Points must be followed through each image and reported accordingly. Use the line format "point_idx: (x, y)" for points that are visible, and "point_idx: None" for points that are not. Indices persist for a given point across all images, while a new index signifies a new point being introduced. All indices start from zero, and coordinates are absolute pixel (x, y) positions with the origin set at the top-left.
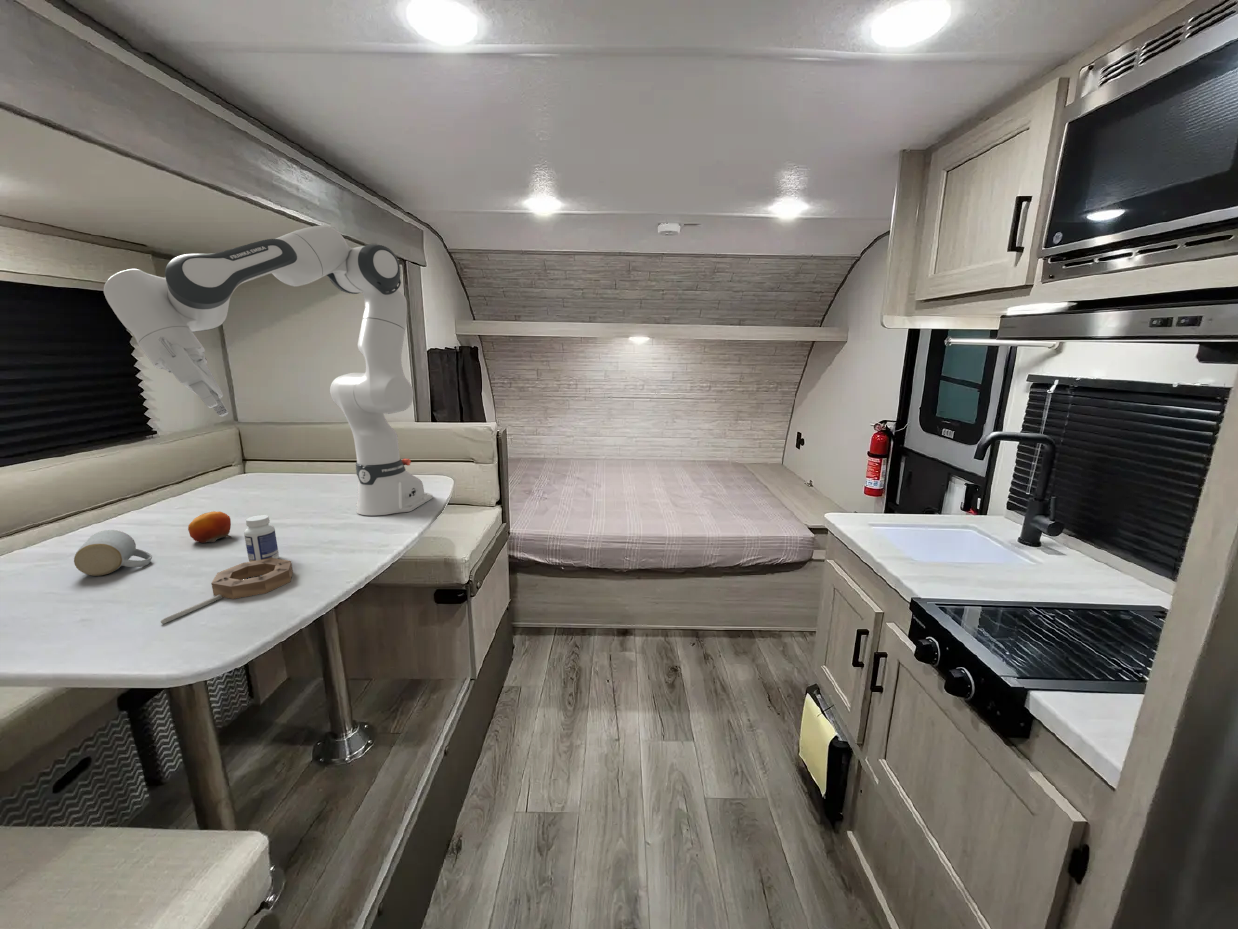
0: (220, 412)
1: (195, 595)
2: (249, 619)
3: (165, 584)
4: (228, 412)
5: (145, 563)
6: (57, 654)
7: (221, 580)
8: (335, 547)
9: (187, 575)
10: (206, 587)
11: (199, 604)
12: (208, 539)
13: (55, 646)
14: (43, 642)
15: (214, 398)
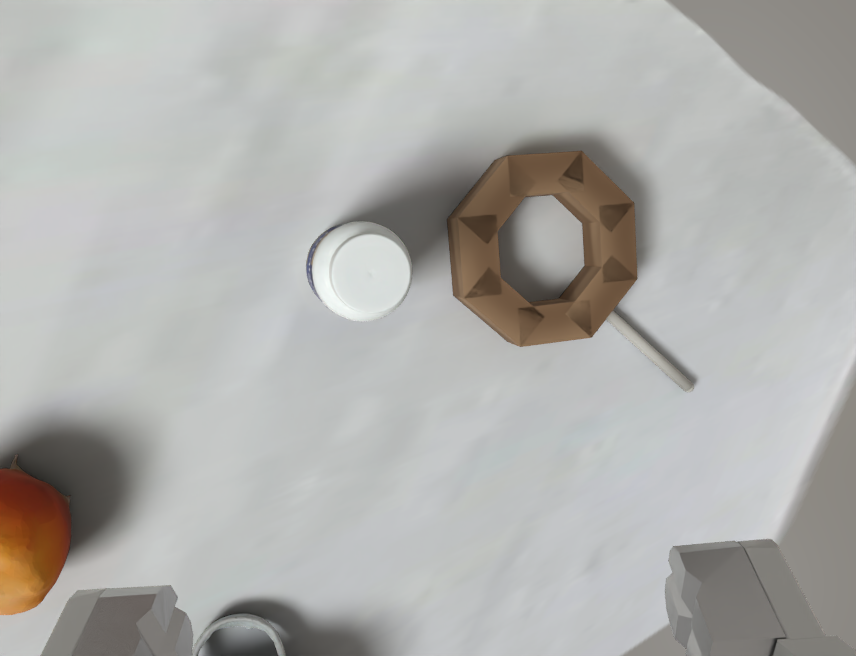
0: (176, 646)
1: (553, 378)
2: (741, 211)
3: (442, 485)
4: (88, 590)
5: (257, 616)
6: (731, 522)
7: (583, 317)
8: (306, 44)
9: (393, 455)
10: (510, 369)
11: (643, 340)
12: (70, 516)
13: None
14: None
15: (732, 607)
